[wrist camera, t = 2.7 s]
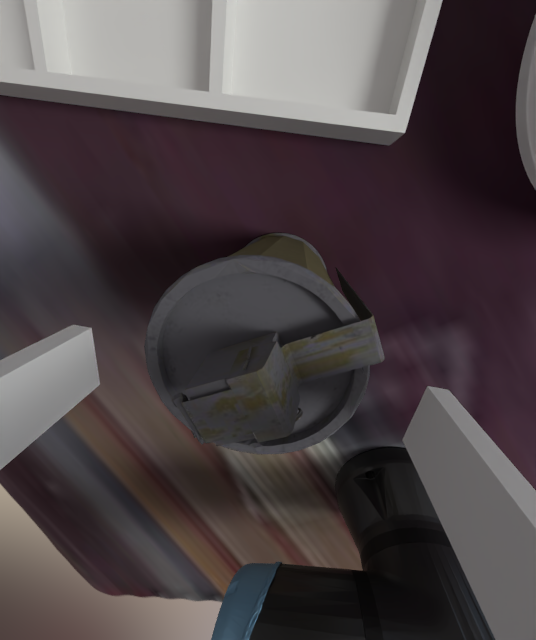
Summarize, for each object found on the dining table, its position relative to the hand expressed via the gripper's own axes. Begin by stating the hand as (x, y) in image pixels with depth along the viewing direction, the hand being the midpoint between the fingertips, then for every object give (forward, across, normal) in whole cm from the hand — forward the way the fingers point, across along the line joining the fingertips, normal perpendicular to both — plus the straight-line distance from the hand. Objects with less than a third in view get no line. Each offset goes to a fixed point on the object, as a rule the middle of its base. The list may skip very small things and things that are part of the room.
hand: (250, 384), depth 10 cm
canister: (+19, 0, 0) cm, 19 cm away
